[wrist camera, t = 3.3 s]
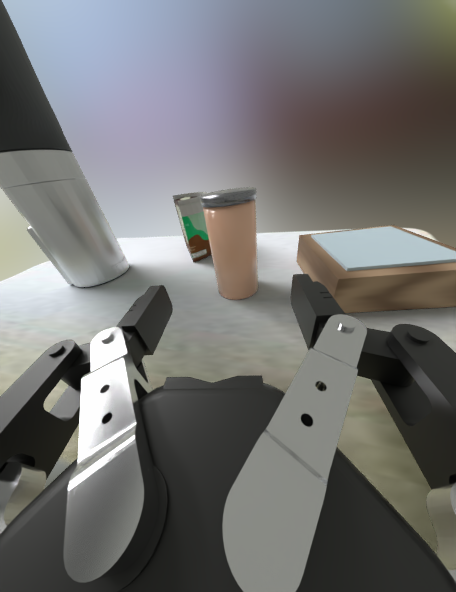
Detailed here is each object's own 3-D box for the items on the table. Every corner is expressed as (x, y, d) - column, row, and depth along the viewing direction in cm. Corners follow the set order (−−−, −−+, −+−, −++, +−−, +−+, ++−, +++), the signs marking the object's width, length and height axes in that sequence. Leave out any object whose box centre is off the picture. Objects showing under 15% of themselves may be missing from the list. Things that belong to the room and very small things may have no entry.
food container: (227, 256, 32) (219, 193, 26) (194, 265, 31) (178, 201, 25) (211, 239, 42) (202, 190, 36) (185, 244, 40) (172, 195, 35)
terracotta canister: (215, 301, 21) (194, 200, 15) (219, 278, 26) (204, 192, 19) (260, 298, 21) (258, 191, 14) (256, 275, 25) (254, 185, 19)
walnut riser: (328, 314, 17) (339, 276, 15) (296, 261, 27) (299, 233, 24) (468, 305, 16) (506, 262, 13) (381, 253, 26) (394, 222, 23)
